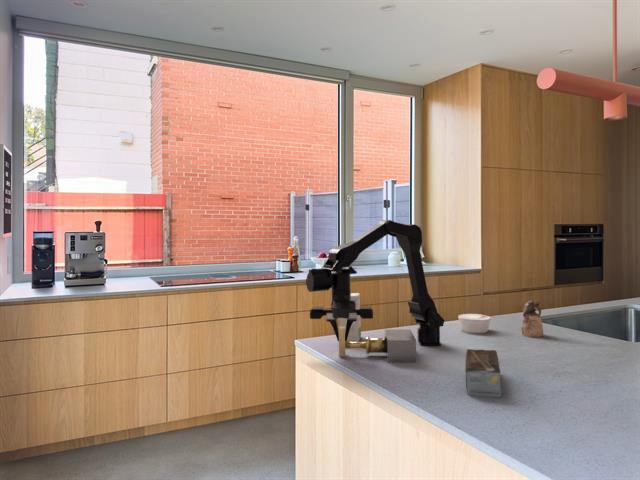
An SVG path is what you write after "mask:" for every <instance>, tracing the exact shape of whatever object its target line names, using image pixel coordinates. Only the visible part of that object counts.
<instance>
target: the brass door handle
mask: <svg viewBox="0 0 640 480" xmlns="http://www.w3.org/2000/svg"><path fill="white" fill-rule="evenodd" d="M338 330H339V341H338V356H339V357H346V351H347V350H349V349H352V350H355V349H357V350H358V349H359V350H361V349H362V350H365V351H366V353H365V354H366V355H369V354H370V353H371V354H372V353H373V354H374V353H375V354H380V353H382V354H386V353H387V338H385V337H370V336H365V341H358V342H345V327H340V326H338ZM346 349H347V350H346Z"/></svg>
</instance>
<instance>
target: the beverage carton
mask: <svg viewBox="0 0 640 480" xmlns="http://www.w3.org/2000/svg"><path fill="white" fill-rule="evenodd" d="M464 365H465V366H464V367H465V388H466V394H467V395H468V396H477V397H479V396H480V397H488V398H490V397H492V398H501V397H502V377H501V376H502V375H501V369H500V361H499V356H498V353H497V350H496V349H491V350H490V349H487V350H486V349H471V348H469V349H468V348H467V349H466V355H465V364H464Z"/></svg>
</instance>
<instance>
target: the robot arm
mask: <svg viewBox="0 0 640 480" xmlns="http://www.w3.org/2000/svg"><path fill="white" fill-rule="evenodd" d="M387 235H388V236H390V237H393V238H395V239H396V241H397V243H398V245H399V248H400V249H401V250H402V251H403V253H404V257H405V261H406V265H407V272H408V275H409V277H408V278H409V282H410V286H411V291H412V297H411V300H409V301H407V305H408V309H409V314H411V316H412V317H413V318H414V321H415V323H416V324H418V328H417V329H416V330H417V332H416V333H417V342H418V343H419V345H420V346H441V345H442V343H441V337H440V336H441V335H440V334H441V330H440V329H441V327H444V323H445V319H444V318H443V317H442V316H441V314H440V313H439V312H438V309H437V306H436V302H435V301H434V300H433V298H432V297H431V295H430V294H429V291H428V286H427V281H426V276H425V275H426V274H425V270H424V265H423V260H422V256H421V248H422V244H423V232H422V229H421V227H420V226H419V225H417V224H404V223H400V222H397V221H393V220H391V219H384V220H383V219H382V220H381V221H379V222H378V223H377V224H376V225H374V226H373V227H371V228H370V229H368V230H367V231H365V232H363V233H362V234H361V235H359V236H357V237H355V238H354V239H353V240H351V241H349V242H346V243H343V244H340V245H337V246H335V247H333V248H331V249H330V250H329V252H328V255H327V257H328V258H327V259H326V260H325V262H324V263H323V264H322V266H321V268H314V267H313V268H309V269H308V273H307V275H306V279H305V286H306V289H307V291H308V292H310V293H314V292H315V293H316V292H325V291H326V292H328V291H329V290H330V289H331V304H330V305H331V306H330V309H327V308H326V309H325V307H324V306H312V307H311V308H310V310H309V319H311V320H320V319H322V318H323V317H324V316H325V317H326V319H325V320H326V322H327V323H328V322H329V324H330V325H331V326H332V329H333V331H334V334H335V337H336V339H337V342H339V324H338V319H340V318H344V319H346V318H347V323H346V332H345V341H347V337H348V334H349V330H350V328H351V325H352V323H353V322H354V321H357V315H360V319H367V320H368V319H374V310H373V307H372V306H371V305H367V306H366V305H364V306H363V305H360V309H356V304H355V301H351V293H352V292H351V291H352V289H351V275H354V274H355V275H356V274H358V272H357V270H355V269H354V268H353V266H352V264H353V263H355V262H356V260H357V259H358V257H359V256H360V254H361V253H362V252H364V251H365V250H366V249H368V248H370V247H371V246H372V245H374V244H375V243H377V242H378V241H380V240H381V239H384V237H386V236H387Z"/></svg>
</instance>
